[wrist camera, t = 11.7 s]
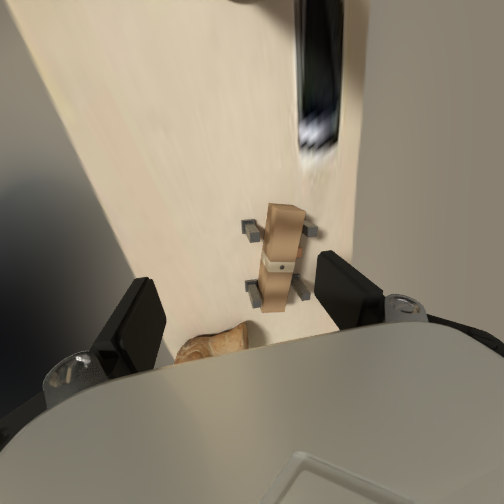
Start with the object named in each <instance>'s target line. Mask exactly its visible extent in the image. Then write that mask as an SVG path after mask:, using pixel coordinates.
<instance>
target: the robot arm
mask: <svg viewBox="0 0 504 504" xmlns="http://www.w3.org/2000/svg"><path fill="white" fill-rule="evenodd" d="M314 293H315V296H316V298H317V299H318V300H319V302H320V303H321V305H322V306H323V307H324V309H325V310H326V311H327V313H328V314H329V315H330V317H331V318H332V320H333V321H334V322H335V324H336V325H337V326H338V328H339V329H340V331H335V332H330V333H325V334H320V335H315V336H310V337H305V338H300V339H295V340H290V341H285V342H280V343H275V344H270V345H265V346H260V347H255V348H251V349H246V350H241V351H236V352H231V353H226V354H222V355H217V356H212V357H207V358H203V359H198V360H193V361H188V362H184V363H179V364H174V365H170V366H165V367H161V368H156V369H153V368H154V365H155V361H156V357H157V354H158V350H159V347H160V343H161V340H162V336H163V333H164V329H165V325H166V315H165V312H164V310H163V307H162V304H161V301H160V298H159V296H158V293H157V290H156V287H155V284H154V281H153V280H152V279H149V278H148V277H142V278H136V279H134V281H133V282H132V284H131V286H130V287H129V289H128V290H127V292H126V293H125V295H124V296H123V298H122V300H121V301H120V303H119V304H118V306H117V307H116V309H115V310H114V312H113V314H112V315H111V317H110V318H109V320H108V321H107V323H106V324H105V326H104V328H103V329H102V331H101V332H100V334H99V335H98V337H97V339H96V340H95V342H94V343H93V346H92V347H91V349H90V350H89V351H84V352H79V353H76V354H73V355H72V356H70V357H67V358H66V359H64V360H63V361H61V362H60V363H59V364H57V365H56V366H55V367H54V368H53V369H52V370H51V371H50V372H49V373H48V375H47V376H46V378H45V380H44V382H43V391H42V392H40V393H39V394H38V395H36V396H35V397H33V398H32V399H30V400H29V401H27V402H26V403H24V404H23V405H21V406H20V407H18V408H17V409H15V410H14V411H13V412H11V413H10V414H8V415H7V416H5V417H4V418H2V419H1V420H0V504H504V343H502V342H501V341H500V340H499V339H497V338H495V337H494V336H493V335H491V334H489V333H487V332H485V331H483V330H479V329H476V328H473V327H470V326H466V325H463V324H459V323H456V322H453V321H449V320H445V319H442V318H439V317H435V316H432V315H429V314H426V311H425V309H424V307H423V306H422V305H421V304H420V303H419V302H418V301H416V300H415V299H412V298H410V297H408V296H404V295H399V294H391V295H388V296H386V297H385V296H384V295H383V290H382V289H380V288H379V287H378V286H377V285H375V284H374V283H373V282H371V281H370V280H369V279H368V278H366V277H365V276H364V275H362V274H361V273H360V272H359V271H358V270H356V269H355V268H354V267H352V266H351V265H350V264H349V263H347V262H346V261H345V260H344V259H342V258H341V257H340V256H338V255H337V254H336V253H335V252H333V251H332V250H329V251H322V252H321V253H320V254H319V255H318V258H317V268H316V278H315V287H314Z"/></svg>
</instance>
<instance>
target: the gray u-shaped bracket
mask: <svg viewBox="0 0 504 504" xmlns="http://www.w3.org/2000/svg"><path fill="white" fill-rule="evenodd" d="M241 223H242V234H244V233H246V235H247V237H248V239H249V242H250V243H252V242H260V232H259V230H258V229H257V227H256V226H255V219H249V220H241ZM317 228H318V227H317V226H316V225H314V224H312V223H310V222H309V221H307V220H305V219H304V223H303V228H302V233H303V234H304V235H306V236H307V237H311V236H317Z"/></svg>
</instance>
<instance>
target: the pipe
mask: <svg viewBox="0 0 504 504" xmlns="http://www.w3.org/2000/svg"><path fill="white" fill-rule="evenodd" d="M246 349H248V335H247V328H246V324H245V323H241V324H239V325H238V326H236V327H235V328H234V329H232V330H230V331H229V332H224V333H220V334H217V335H215V336H212V337H197V338H193V339H189V340H188V341H187V342H186V343H185V344H184V345H183V346H182V347H181V349H180V350H179V352H178V353H177V357H176V359H175V363H174V364H179V363H184V362H188V361H193V360H198V359H203V358H207V357H212V356H217V355H222V354H226V353H231V352H236V351H241V350H246Z"/></svg>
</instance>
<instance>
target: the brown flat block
mask: <svg viewBox="0 0 504 504" xmlns="http://www.w3.org/2000/svg"><path fill="white" fill-rule="evenodd" d="M299 257H302V248H301V247H298V251H297V256H296V258H299Z"/></svg>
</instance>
